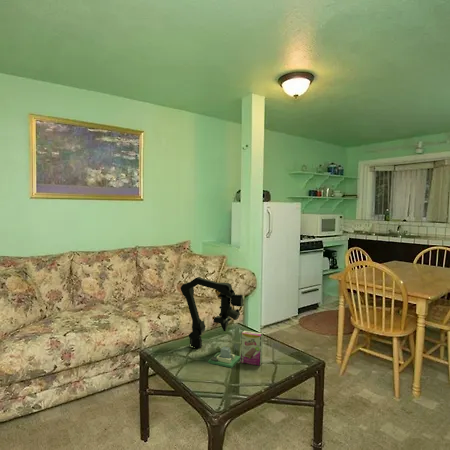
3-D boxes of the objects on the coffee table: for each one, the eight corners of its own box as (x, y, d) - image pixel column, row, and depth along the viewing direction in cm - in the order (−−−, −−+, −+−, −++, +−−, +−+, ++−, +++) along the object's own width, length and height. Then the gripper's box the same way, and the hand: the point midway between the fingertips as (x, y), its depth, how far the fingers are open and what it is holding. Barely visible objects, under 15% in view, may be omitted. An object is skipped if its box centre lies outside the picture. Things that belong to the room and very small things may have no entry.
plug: (220, 359, 172) (220, 348, 172) (223, 357, 176) (223, 346, 176) (228, 361, 170) (228, 350, 170) (231, 358, 174) (231, 347, 174)
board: (208, 362, 171) (208, 356, 171) (218, 354, 183) (218, 348, 183) (232, 368, 165) (232, 361, 165) (240, 358, 177) (241, 352, 177)
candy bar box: (240, 363, 172) (240, 332, 172) (242, 359, 176) (243, 330, 176) (260, 366, 168) (261, 335, 168) (262, 362, 173) (263, 332, 173)
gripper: (231, 310, 175) (230, 338, 175) (244, 303, 192) (243, 329, 192) (213, 307, 180) (212, 335, 180) (227, 300, 197) (226, 325, 197)
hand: (224, 331), depth 187 cm, fingers closed
